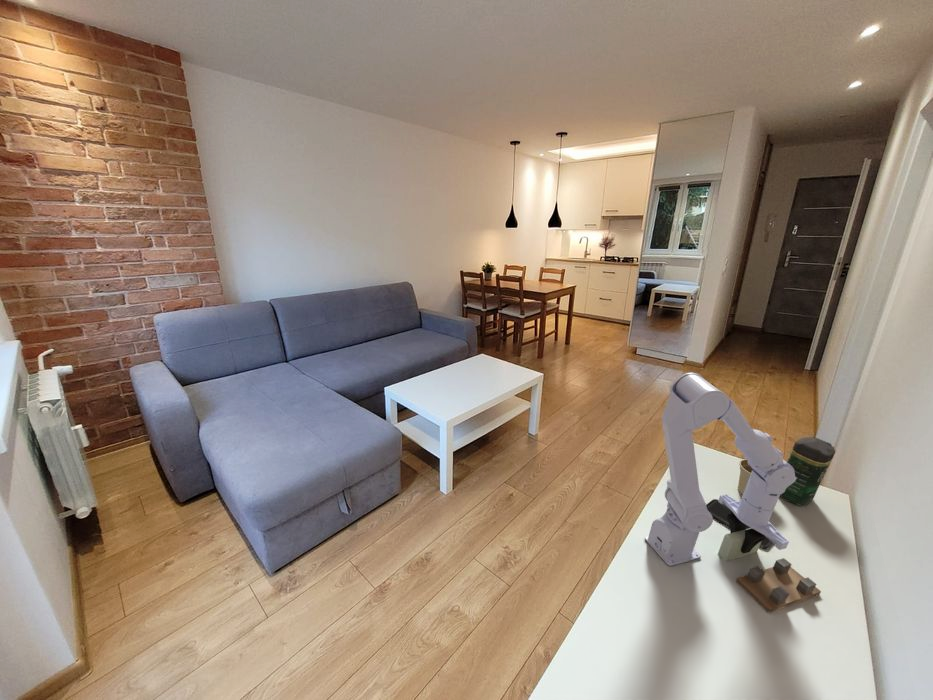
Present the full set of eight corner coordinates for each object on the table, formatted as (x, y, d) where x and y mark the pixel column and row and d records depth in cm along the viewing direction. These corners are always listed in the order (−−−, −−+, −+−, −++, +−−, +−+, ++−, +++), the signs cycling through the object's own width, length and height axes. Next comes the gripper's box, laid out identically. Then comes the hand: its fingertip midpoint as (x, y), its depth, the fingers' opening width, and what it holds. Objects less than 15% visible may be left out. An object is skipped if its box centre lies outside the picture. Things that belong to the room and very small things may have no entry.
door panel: (725, 561, 84) (733, 541, 82) (717, 553, 86) (725, 534, 84) (756, 552, 87) (765, 533, 85) (748, 545, 89) (756, 526, 87)
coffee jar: (803, 510, 101) (829, 454, 95) (770, 492, 107) (792, 439, 101) (817, 499, 106) (842, 445, 99) (784, 482, 112) (806, 430, 106)
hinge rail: (768, 612, 73) (774, 600, 72) (735, 581, 79) (740, 569, 78) (819, 594, 77) (825, 582, 76) (784, 566, 84) (789, 554, 82)
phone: (715, 497, 103) (779, 535, 91) (714, 501, 103) (777, 538, 92) (701, 508, 99) (766, 548, 87) (700, 511, 99) (764, 552, 87)
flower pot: (723, 485, 109) (731, 461, 107) (745, 480, 112) (754, 456, 109) (754, 507, 101) (764, 482, 98) (778, 501, 104) (788, 476, 101)
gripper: (806, 522, 76) (784, 570, 80) (740, 477, 89) (724, 520, 93) (783, 529, 74) (761, 577, 78) (718, 481, 87) (703, 525, 92)
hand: (739, 546), depth 86 cm, fingers closed on door panel, 2 cm apart
